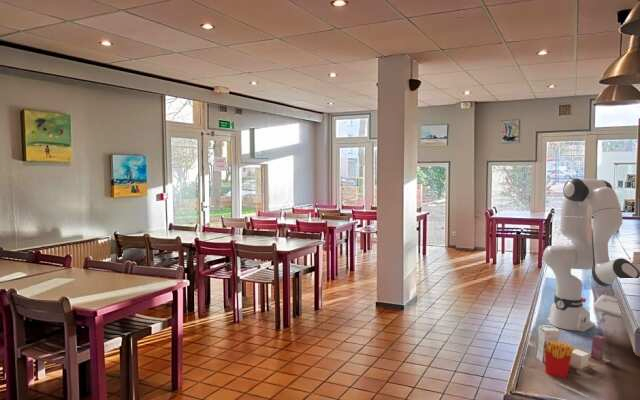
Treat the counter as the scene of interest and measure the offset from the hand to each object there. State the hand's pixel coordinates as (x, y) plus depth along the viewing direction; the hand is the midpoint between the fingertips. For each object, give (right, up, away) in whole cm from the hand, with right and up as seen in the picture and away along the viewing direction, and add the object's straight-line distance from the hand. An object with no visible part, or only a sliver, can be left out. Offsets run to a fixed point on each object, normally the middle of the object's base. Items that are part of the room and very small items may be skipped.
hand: (612, 325), depth 206 cm
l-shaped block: (-16, -14, -7) cm, 22 cm away
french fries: (-31, -15, -18) cm, 39 cm away
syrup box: (-30, -14, -6) cm, 33 cm away
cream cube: (-19, -13, -10) cm, 25 cm away
